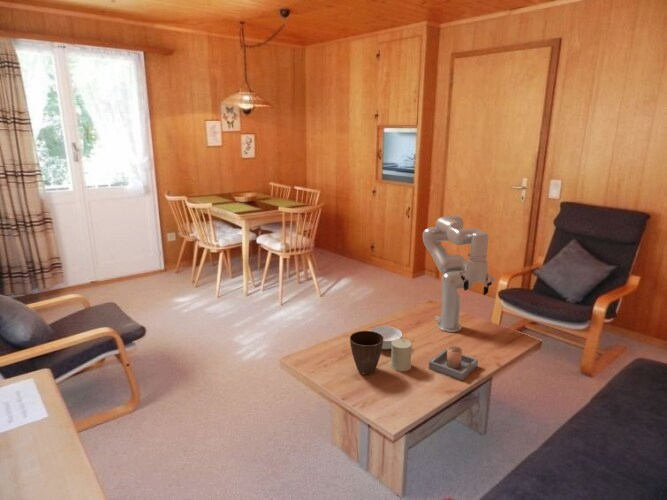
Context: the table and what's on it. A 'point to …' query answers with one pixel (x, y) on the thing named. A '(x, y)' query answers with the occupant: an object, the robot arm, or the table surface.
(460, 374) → the grey tray
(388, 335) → the cereal bowl
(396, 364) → the pillar candle
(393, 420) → the table surface
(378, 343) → the plant pot
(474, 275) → the robot arm
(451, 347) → the terracotta cup
